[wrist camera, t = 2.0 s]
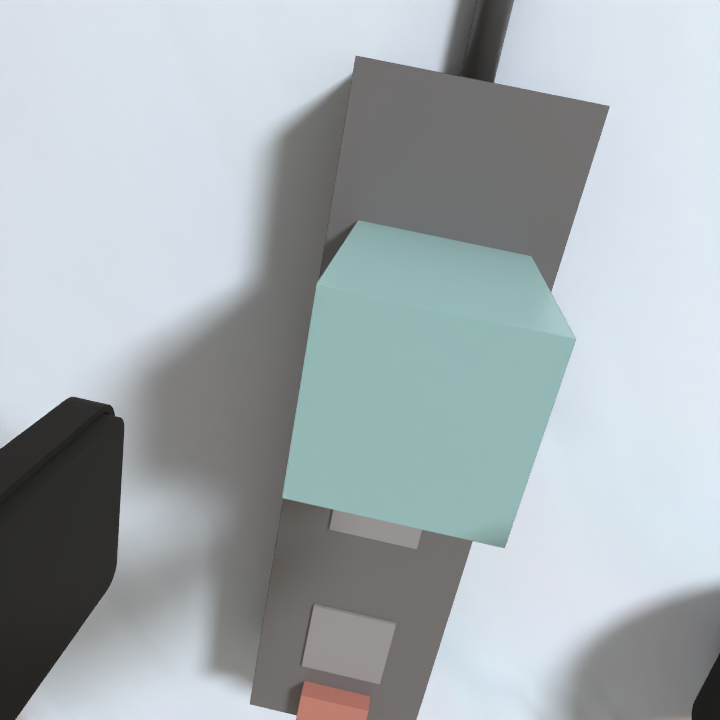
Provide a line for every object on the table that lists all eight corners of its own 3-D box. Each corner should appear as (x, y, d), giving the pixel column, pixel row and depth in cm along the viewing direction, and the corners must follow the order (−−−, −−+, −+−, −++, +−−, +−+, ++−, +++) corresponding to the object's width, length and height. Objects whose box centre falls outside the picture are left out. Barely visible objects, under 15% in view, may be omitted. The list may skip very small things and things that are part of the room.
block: (366, 207, 18) (316, 283, 11) (522, 239, 18) (576, 338, 11) (340, 350, 20) (281, 497, 13) (481, 380, 20) (504, 548, 13)
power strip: (438, -346, 15) (437, -474, 11) (704, -300, 14) (782, -416, 11) (269, 640, 27) (245, 718, 23) (412, 674, 26) (408, 757, 23)
